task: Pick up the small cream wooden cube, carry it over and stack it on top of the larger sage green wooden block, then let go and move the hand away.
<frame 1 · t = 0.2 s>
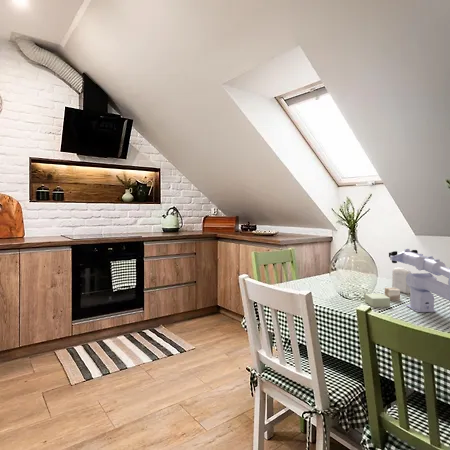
hand: (397, 254, 171), 21 cm above the table, tool horizontal, fingers open, 7 cm apart
photo printer: (401, 291, 183), on the table
sage base block: (377, 304, 160), on the table
cream cube: (392, 299, 169), on the table
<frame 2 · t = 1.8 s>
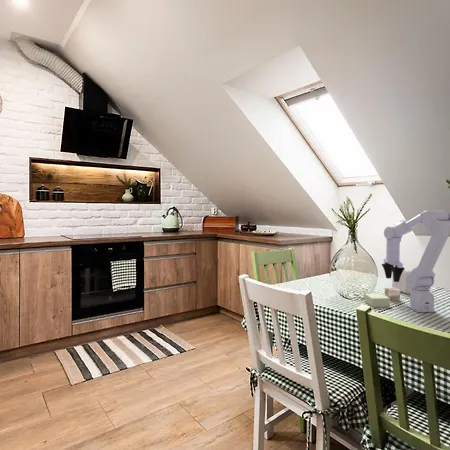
hand: (392, 279, 168), 9 cm above the table, tool pointing down, fingers open, 7 cm apart
nothing on the table moved.
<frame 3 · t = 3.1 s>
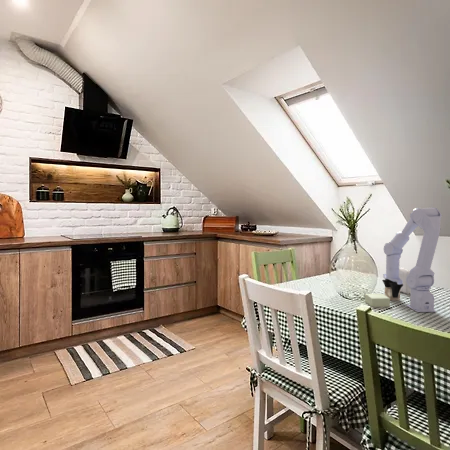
hand: (392, 295, 168), 1 cm above the table, tool pointing down, fingers closed on cream cube, 5 cm apart
cream cube: (392, 298, 169), on the table, touching gripper
everything else where it was.
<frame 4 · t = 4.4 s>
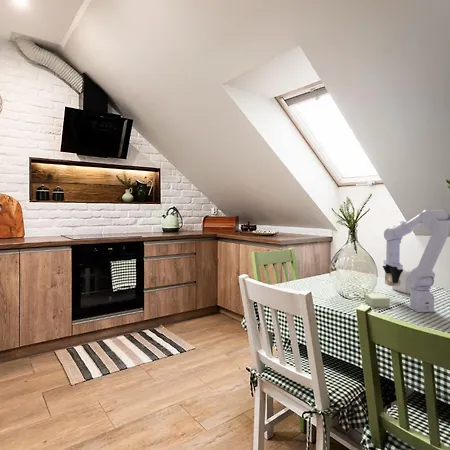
hand: (392, 281, 168), 8 cm above the table, tool pointing down, fingers closed on cream cube, 5 cm apart
cream cube: (392, 284, 168), point 7 cm above the table, touching gripper
everything else where it was.
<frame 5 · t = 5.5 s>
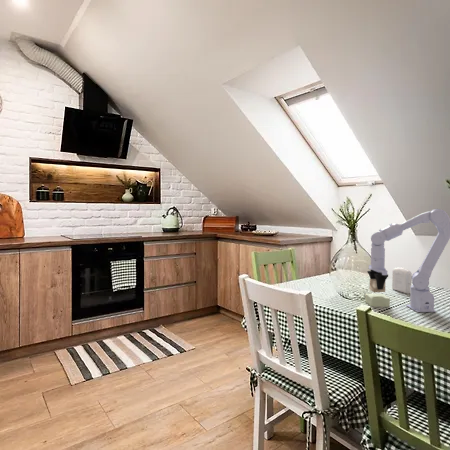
hand: (377, 287, 160), 8 cm above the table, tool pointing down, fingers closed on cream cube, 5 cm apart
cream cube: (377, 290, 160), point 6 cm above the table, touching gripper
everything else where it was.
when the fingers open (6 cm above the table, at t = 6.2 s): cream cube drops 1 cm, resting on sage base block.
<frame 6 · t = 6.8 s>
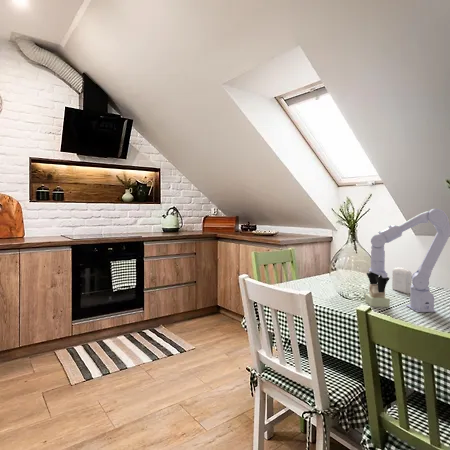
hand: (377, 290, 160), 6 cm above the table, tool pointing down, fingers open, 7 cm apart
sage base block: (377, 304, 160), on the table, touching cream cube
cream cube: (377, 296, 160), point 4 cm above the table, touching sage base block
everything else where it was.
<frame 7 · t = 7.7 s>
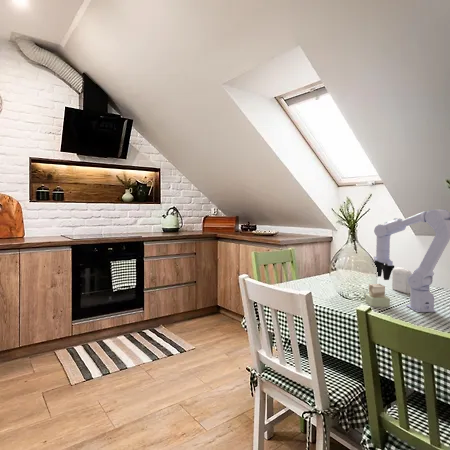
hand: (382, 278, 167), 10 cm above the table, tool pointing down, fingers open, 7 cm apart
sage base block: (377, 304, 160), on the table
cream cube: (376, 295, 160), point 4 cm above the table
everything else where it was.
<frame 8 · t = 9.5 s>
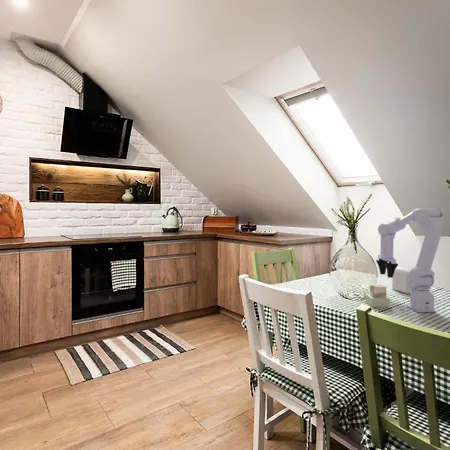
hand: (386, 275, 172), 10 cm above the table, tool pointing down, fingers open, 7 cm apart
nothing on the table moved.
at the end: cream cube 0.2 cm off-centre on the sage base block, point 4.0 cm above the sage base block's base; cream cube tilted 0°; the gripper is holding nothing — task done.
